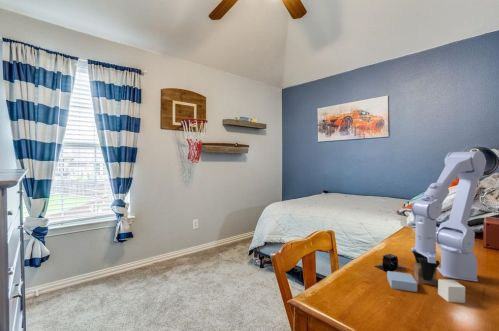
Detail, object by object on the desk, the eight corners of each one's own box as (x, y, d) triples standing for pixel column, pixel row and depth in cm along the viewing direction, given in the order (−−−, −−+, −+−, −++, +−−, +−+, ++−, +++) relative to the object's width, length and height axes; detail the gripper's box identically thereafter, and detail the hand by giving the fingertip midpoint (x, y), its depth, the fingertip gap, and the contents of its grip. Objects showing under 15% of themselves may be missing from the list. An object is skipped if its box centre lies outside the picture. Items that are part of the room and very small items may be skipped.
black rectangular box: (385, 275, 91) (385, 262, 91) (368, 267, 98) (368, 254, 98) (411, 269, 96) (411, 256, 96) (393, 262, 103) (393, 250, 103)
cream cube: (453, 294, 77) (454, 280, 77) (465, 303, 73) (465, 287, 73) (437, 294, 78) (438, 279, 77) (448, 302, 73) (448, 286, 73)
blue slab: (410, 282, 85) (410, 273, 85) (417, 293, 78) (417, 283, 78) (387, 279, 87) (387, 270, 87) (391, 289, 81) (391, 280, 81)
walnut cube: (431, 278, 87) (431, 264, 87) (436, 285, 83) (436, 270, 83) (414, 276, 89) (414, 262, 89) (418, 282, 84) (418, 267, 84)
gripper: (406, 229, 94) (406, 266, 94) (417, 241, 80) (416, 284, 80) (429, 231, 91) (428, 269, 92) (444, 243, 78) (443, 288, 78)
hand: (424, 276), depth 86 cm, fingers closed on walnut cube, 5 cm apart
